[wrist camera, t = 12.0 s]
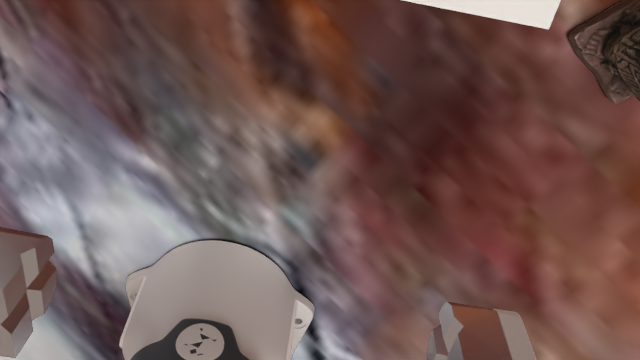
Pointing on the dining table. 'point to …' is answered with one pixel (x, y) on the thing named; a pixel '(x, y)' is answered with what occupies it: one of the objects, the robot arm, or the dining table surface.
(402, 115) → the dining table surface
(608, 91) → the statue
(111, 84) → the dining table surface
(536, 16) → the frame
